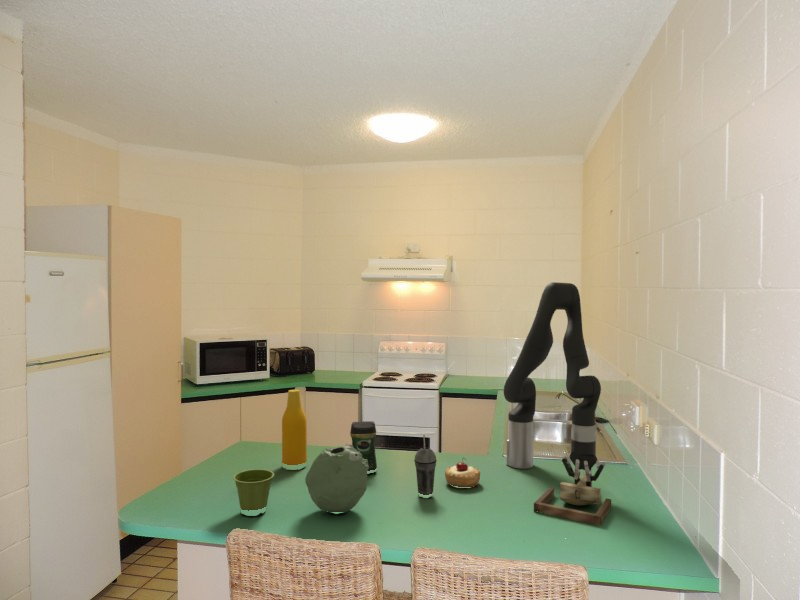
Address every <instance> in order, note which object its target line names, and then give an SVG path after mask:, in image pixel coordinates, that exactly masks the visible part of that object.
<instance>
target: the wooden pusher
mask: <svg viewBox="0 0 800 600" xmlns="http://www.w3.org/2000/svg"><path fill="white" fill-rule="evenodd" d="M586 481H587V478H586V473H582V476H581V478H580V481H579V482H578V483H577V484H574V483H570V482H565V481H561V482H560V483H559V497H560V498H569V499H576V496H577V498H578V497H579V496H580V500H595V501H596V503H592V504H593V505H597V506H601V501H602V500H601V495H602V494H601V491H602V489H601V488H598V487H593V486H592V487H588V486H586ZM575 490H578V491H579V492H580V493H579V492H578V491H577V492H576V496H575ZM560 498H559V499H560ZM592 504H591V505H592Z"/></svg>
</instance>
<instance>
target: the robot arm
mask: <svg viewBox="0 0 800 600" xmlns="http://www.w3.org/2000/svg"><path fill="white" fill-rule="evenodd" d="M580 295H581V294H580V292H579V289H578V287H577V286H576V285H575V284H574V283H570V282H554V281H553V282H549V283H548V284H546V286H545V287H544V289H543V291H542V294H541V297H540V300H539V304H538V307H537V311H536V313H535V317H534V319H533V322H532V324H531V327H530V330H529V332H528V334H527V336H526V338H525V341H524V343H523V346H522V349H521V351H520V353H519V356H518V358H517V360H516V361H515V363H514V366H513V368H512V370H511V372H510V373H509V375H508V377H507V378H506V381H505V383H504V385H503V397H504V399H505V400H506V401H507V402H509V403H511V404H517V405H516V406H515V408H513V409H511V410H510V411H509V412H508V416H507V417H508V423H507V424H508V427H507V430H508V432H507V433H508V438H507V440H506V465H507V466H510V467H511V468H514V469H522V470H526V469H531V468H533V467H534V416H535V414H536V401H537V388H536V385H535V382H534V381H533V379H532V378H530V377H529V376H530V375H531V374H532V373H533V372H534V371H535V370H537V369H538V367H540V366H541V365H542V364H543V363H544V362H545V361H546V359H547V357H548V356H549V353H550V352H551V349H552V348H553V344H554V337H553V332H552V327H551V323H552V319H553V316H554V314H555V312H556V311H557V310H559V311H560V310H562V311H563V310H564V312H565V314H566V319H567V325H566V329H565V332H564V336H563V338H562V339H563V341H562V348H563V349H562V350H563V355H564V358H565V362H566V379H565V389H566V392H567V393H568V395H569V396H570V397H571V398H573V399H582V401H581V402H580V403H577V404H575V405H573V406H572V408H571V429H570V454H569V456H564V457H563V458H562V459H561V462H562V463H563V466H564V469H565V470H566V472H567V475H568V476H569V477H572V478H573V479H574V483H573V484H577V483H578V482H579V481H580V479H581V478H580V476H581V470H583V471H584V472H585V473H584V474H586V478H587V481H586V486H588V487H593V485H592V484H593V481H594V482H596V481H597V479H599V477H600V475H601V473H602V471H603V470H604V468H605V467H606V463H604V462H601V461H599V460H598V458H597V455H596V454H597V451H596V450H597V449H596V447H597V443H596V442H597V433H596V411H597V406H598V402H599V400H600V397H601V393H602V391H601V390H602V387H601V382H600V380H599V378H597V376H596V375H580V372H581V370H584V369H586V368H588V367H589V365H590V360H589V356H588V351H587V347H586V345H585V344H586V343H585V339H584V333H583V317H582V305H581V296H580ZM571 463H572V464H573V466H574V469H573V466H572V465H571ZM595 465H596V466H595ZM594 466H595V467H596V471H595V473H594V475H593V473H592V472H593V469H592V468H593V467H594Z"/></svg>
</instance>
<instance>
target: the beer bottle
mask: <svg viewBox="0 0 800 600" xmlns="http://www.w3.org/2000/svg"><path fill="white" fill-rule="evenodd" d="M287 393H288V394H287V401H286V409H284V410H285V411H284V412H283V415H282V419H281V464H282V463H284V464H287V465H298V464H302V463H305V462H306V461H307V462H308V455H307V454H308V453H307V452H308V450H307V449H308V448H307V447H308V446H307V445H308V441H307V440H308V439H307V436H308V434H307V429H308V428H307V427H308V426H307V422H308V421H307V416H306V412H305V411H304V408H303V406H302V400H301V398H302V397H301V390H300V389H289V390H288V391H287Z"/></svg>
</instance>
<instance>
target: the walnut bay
mask: <svg viewBox="0 0 800 600" xmlns="http://www.w3.org/2000/svg"><path fill="white" fill-rule="evenodd" d="M554 497H555V488H554V487H549V488H547V489H546V490H545V492H544V493H542V494H541V495H540V496H539V497H538V498H537V499H536V500H535V501H534V502H533V512H534V511H538V512H542V513H541V514H543V513H546V514H545V515H547V514H550V515H549V516H552V515H553V516H552V517H557V518H562V519H566V520H571V521H576V522H581V523H585V524H589V525H593V526H599V527H600V526H601V525H602V523H603V521H604V520H605V519H606V517H607V515H608V513H610V511H611V509H612V499H611V498H606V497H605V499H604V501H602V502H603V503H602V504H600V506H599V508H598V509H597V511H596V513H593V512H588V511H583V510H578V509H574V508H567V507H564V506H558V505H553V504H549V502H550V501H551V500H552V499H553V498H554ZM538 512H537V513H538Z"/></svg>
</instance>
